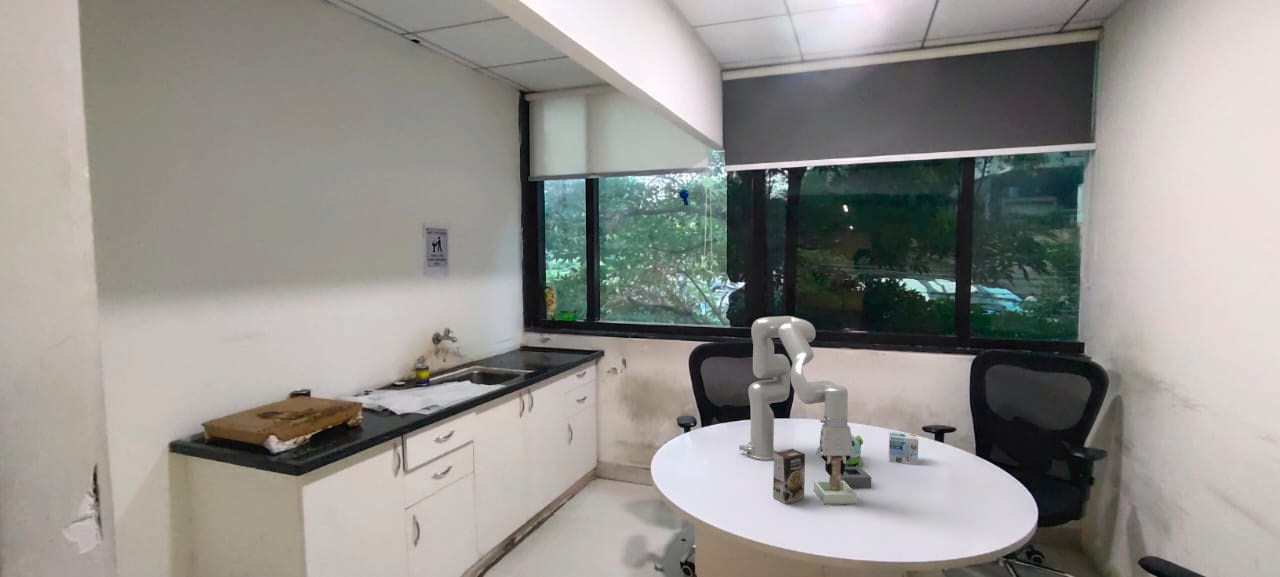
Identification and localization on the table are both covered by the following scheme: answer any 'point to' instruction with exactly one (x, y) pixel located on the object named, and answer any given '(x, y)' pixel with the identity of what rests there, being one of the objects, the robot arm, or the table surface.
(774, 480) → the coffee box
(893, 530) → the table surface
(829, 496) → the tray
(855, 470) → the hitch block
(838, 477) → the pin
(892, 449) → the light bulb box
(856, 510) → the table surface
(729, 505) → the table surface
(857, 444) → the turtle holder
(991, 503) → the table surface
